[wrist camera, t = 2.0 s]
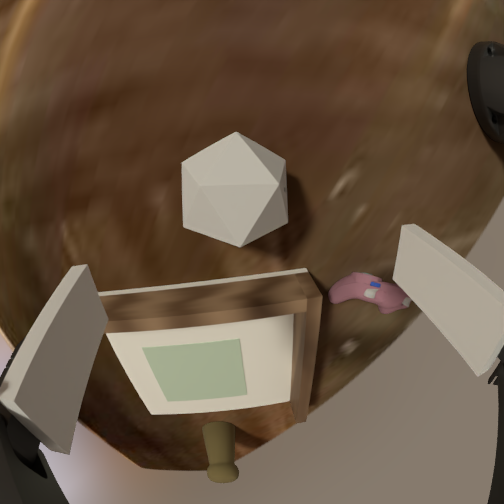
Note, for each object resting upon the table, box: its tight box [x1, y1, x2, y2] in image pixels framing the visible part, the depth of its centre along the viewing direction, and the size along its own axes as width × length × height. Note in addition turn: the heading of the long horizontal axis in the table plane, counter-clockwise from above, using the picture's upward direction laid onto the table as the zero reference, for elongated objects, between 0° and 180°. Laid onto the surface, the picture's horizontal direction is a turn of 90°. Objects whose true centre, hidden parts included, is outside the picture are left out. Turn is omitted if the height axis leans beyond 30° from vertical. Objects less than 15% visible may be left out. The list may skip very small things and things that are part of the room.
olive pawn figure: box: [202, 422, 239, 483], centre depth 39 cm, size 6×6×11 cm
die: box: [182, 132, 288, 247], centre depth 22 cm, size 8×9×10 cm
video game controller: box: [328, 272, 412, 314], centre depth 30 cm, size 10×5×7 cm, turn 70°
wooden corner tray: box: [98, 268, 323, 423], centre depth 32 cm, size 24×24×5 cm
